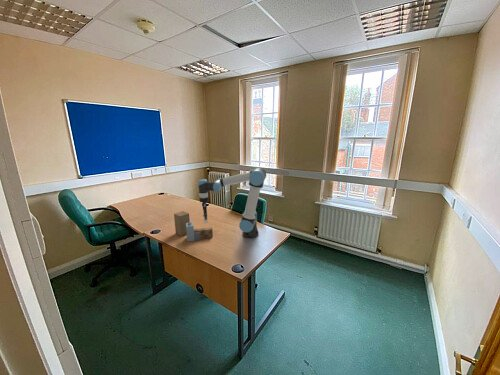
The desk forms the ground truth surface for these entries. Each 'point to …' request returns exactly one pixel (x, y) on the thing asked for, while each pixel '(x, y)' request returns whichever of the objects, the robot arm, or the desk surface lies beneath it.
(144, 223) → the desk surface
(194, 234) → the gray block with ears
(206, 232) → the rail
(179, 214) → the wooden block
